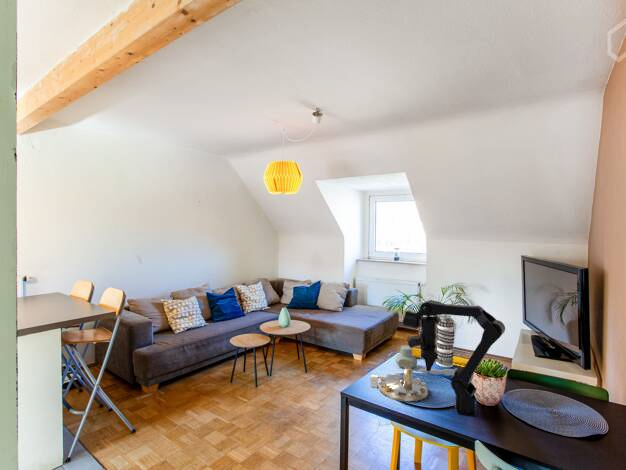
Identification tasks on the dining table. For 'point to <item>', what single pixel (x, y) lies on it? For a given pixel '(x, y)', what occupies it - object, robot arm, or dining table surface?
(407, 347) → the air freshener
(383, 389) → the sprocket base
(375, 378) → the pointer post
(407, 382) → the sprocket
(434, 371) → the caliper
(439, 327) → the decorative candle
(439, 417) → the dining table surface
